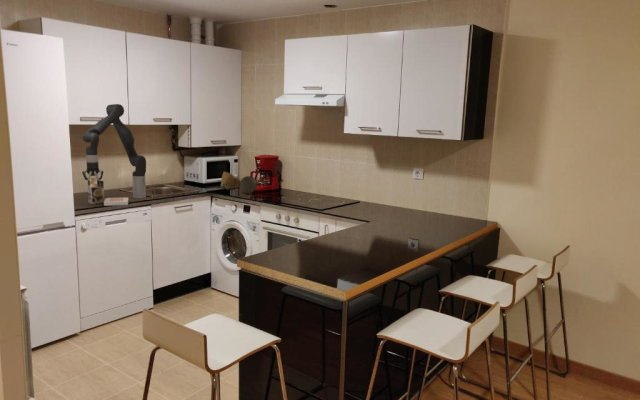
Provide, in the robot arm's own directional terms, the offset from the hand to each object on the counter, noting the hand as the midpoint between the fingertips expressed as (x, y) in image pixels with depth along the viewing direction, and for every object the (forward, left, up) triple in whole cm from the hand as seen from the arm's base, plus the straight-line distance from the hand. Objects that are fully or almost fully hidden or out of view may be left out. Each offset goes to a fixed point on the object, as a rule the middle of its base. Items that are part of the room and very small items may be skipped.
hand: (93, 185), depth 340 cm
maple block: (0, 0, -1) cm, 1 cm away
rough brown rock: (-108, -64, -15) cm, 126 cm away
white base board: (-14, -10, -15) cm, 23 cm away
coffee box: (0, -14, -15) cm, 21 cm away
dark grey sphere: (-117, -33, -15) cm, 122 cm away
